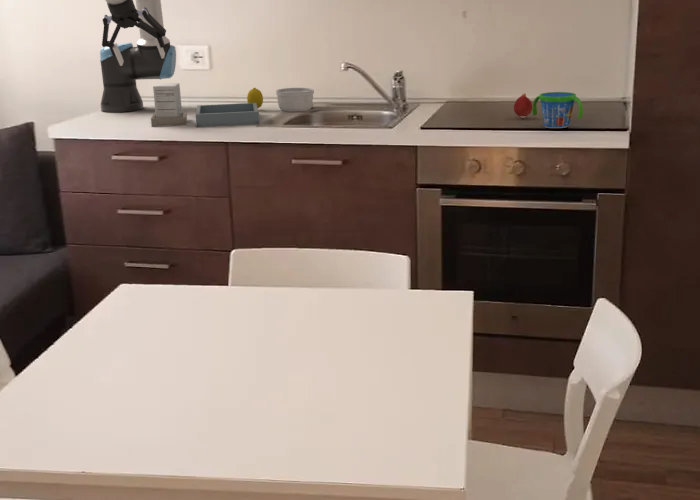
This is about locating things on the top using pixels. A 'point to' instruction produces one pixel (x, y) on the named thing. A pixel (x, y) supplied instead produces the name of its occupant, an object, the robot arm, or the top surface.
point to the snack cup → (557, 108)
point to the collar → (169, 120)
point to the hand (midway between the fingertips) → (142, 59)
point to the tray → (227, 114)
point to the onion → (523, 106)
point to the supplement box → (167, 100)
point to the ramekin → (295, 99)
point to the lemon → (255, 97)
